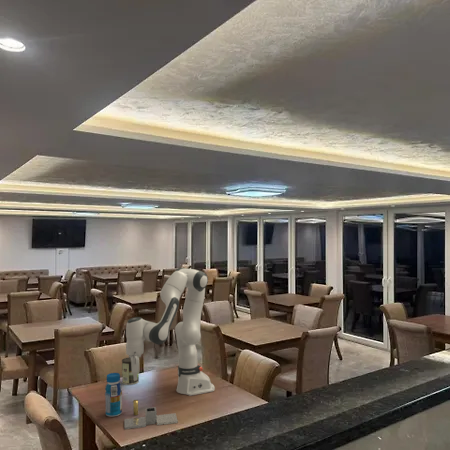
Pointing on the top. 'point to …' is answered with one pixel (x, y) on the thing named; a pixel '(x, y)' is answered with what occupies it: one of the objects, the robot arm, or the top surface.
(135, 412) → the pin
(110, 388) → the beverage bottle
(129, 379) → the coffee can
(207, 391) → the robot arm
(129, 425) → the hinge leaves
